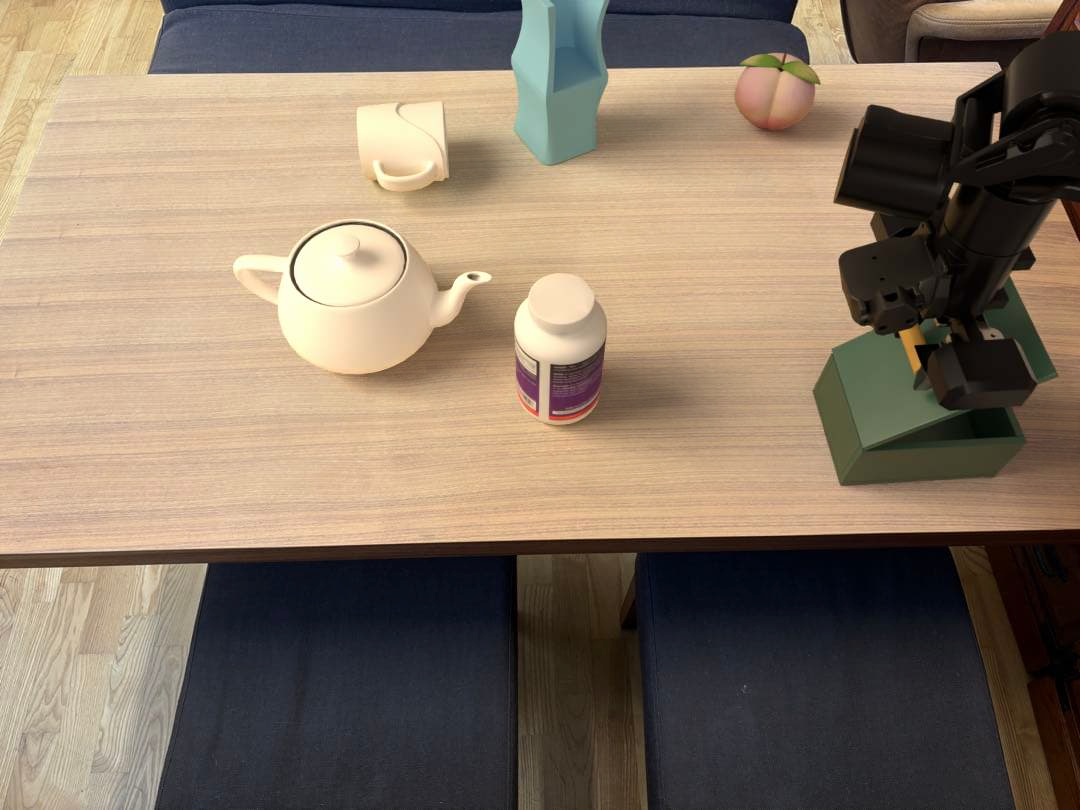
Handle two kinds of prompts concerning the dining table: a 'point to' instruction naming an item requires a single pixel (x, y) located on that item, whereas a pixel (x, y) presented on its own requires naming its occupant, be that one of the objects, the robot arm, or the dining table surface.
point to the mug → (403, 144)
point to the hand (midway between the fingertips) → (909, 362)
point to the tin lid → (892, 365)
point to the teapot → (356, 296)
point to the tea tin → (916, 442)
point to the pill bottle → (559, 349)
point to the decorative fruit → (775, 90)
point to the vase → (559, 77)
